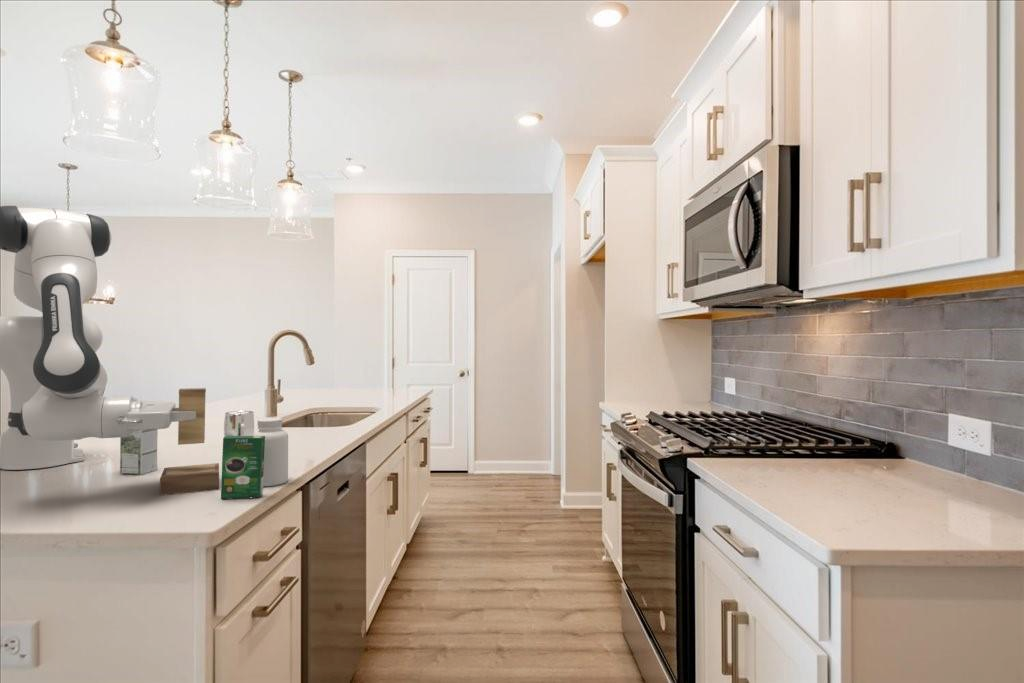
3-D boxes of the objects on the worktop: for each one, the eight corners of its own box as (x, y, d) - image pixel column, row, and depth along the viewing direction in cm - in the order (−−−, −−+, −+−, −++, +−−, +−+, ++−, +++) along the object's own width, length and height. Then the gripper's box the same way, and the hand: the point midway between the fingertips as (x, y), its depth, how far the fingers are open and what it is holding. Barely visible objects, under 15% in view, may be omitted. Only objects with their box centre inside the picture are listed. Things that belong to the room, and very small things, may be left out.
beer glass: (259, 469, 136) (260, 412, 136) (232, 475, 131) (233, 414, 131) (243, 466, 140) (244, 409, 140) (217, 471, 134) (218, 412, 134)
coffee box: (265, 494, 115) (265, 434, 115) (261, 498, 112) (262, 436, 112) (224, 496, 113) (225, 435, 113) (220, 500, 110) (221, 437, 110)
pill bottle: (252, 480, 127) (253, 417, 127) (288, 477, 129) (289, 416, 129) (248, 488, 119) (249, 422, 119) (287, 485, 122) (288, 421, 122)
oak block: (179, 441, 121) (180, 388, 121) (204, 439, 123) (205, 388, 123) (177, 444, 117) (178, 390, 117) (204, 443, 119) (205, 389, 119)
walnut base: (164, 484, 122) (164, 467, 122) (218, 478, 127) (218, 462, 127) (160, 495, 113) (160, 476, 113) (218, 489, 118) (219, 471, 118)
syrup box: (158, 469, 135) (159, 413, 135) (139, 475, 129) (140, 416, 129) (137, 469, 136) (138, 412, 136) (118, 474, 130) (119, 415, 130)
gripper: (114, 407, 105) (195, 404, 111) (129, 397, 122) (198, 395, 129) (113, 439, 105) (194, 434, 111) (128, 424, 122) (197, 421, 129)
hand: (196, 413), depth 120 cm, fingers closed on oak block, 4 cm apart
